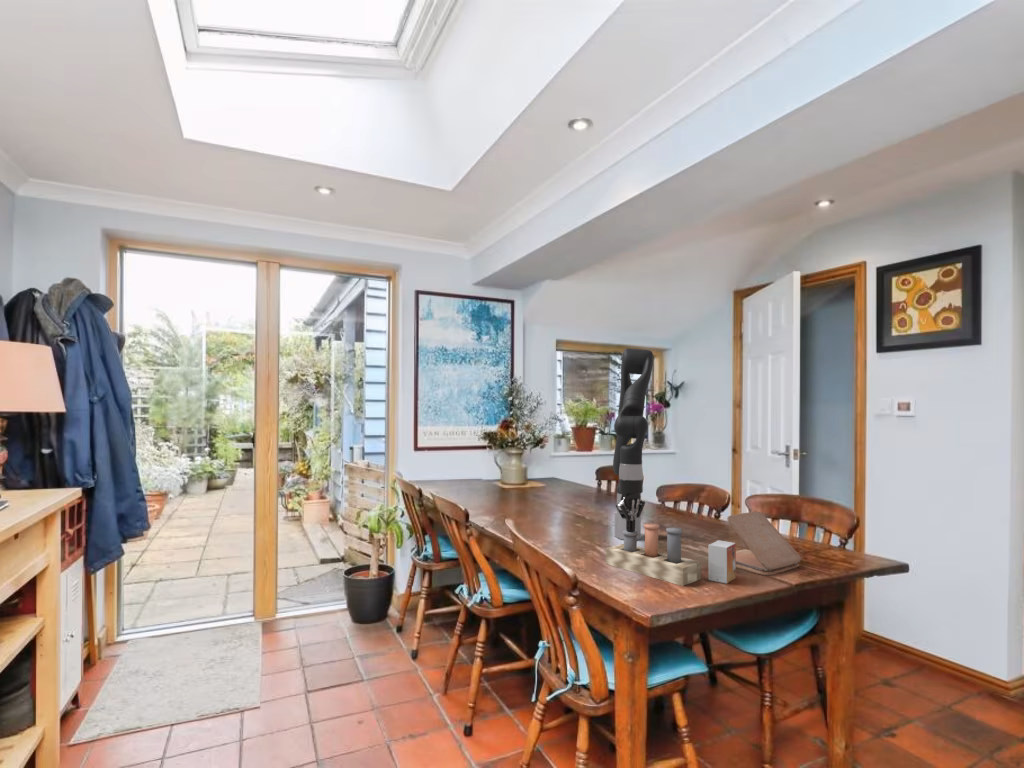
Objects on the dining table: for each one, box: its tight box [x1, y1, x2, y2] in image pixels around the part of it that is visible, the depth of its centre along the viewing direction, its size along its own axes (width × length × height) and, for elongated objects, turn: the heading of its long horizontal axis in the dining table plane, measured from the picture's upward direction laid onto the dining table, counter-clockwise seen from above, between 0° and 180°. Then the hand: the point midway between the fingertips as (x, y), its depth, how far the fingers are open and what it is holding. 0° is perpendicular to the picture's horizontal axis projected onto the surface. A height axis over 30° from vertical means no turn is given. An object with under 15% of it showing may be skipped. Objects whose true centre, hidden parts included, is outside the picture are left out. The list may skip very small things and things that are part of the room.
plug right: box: [665, 527, 683, 564], centre depth 165 cm, size 5×5×10 cm
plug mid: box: [643, 522, 660, 558], centre depth 171 cm, size 5×5×10 cm
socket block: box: [605, 543, 702, 587], centre depth 171 cm, size 28×10×5 cm, turn 41°
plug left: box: [623, 530, 638, 552], centre depth 177 cm, size 5×5×10 cm
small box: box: [707, 539, 737, 585], centre depth 164 cm, size 8×6×10 cm
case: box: [726, 511, 802, 577], centre depth 181 cm, size 20×21×16 cm
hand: (630, 531), depth 177 cm, fingers closed
